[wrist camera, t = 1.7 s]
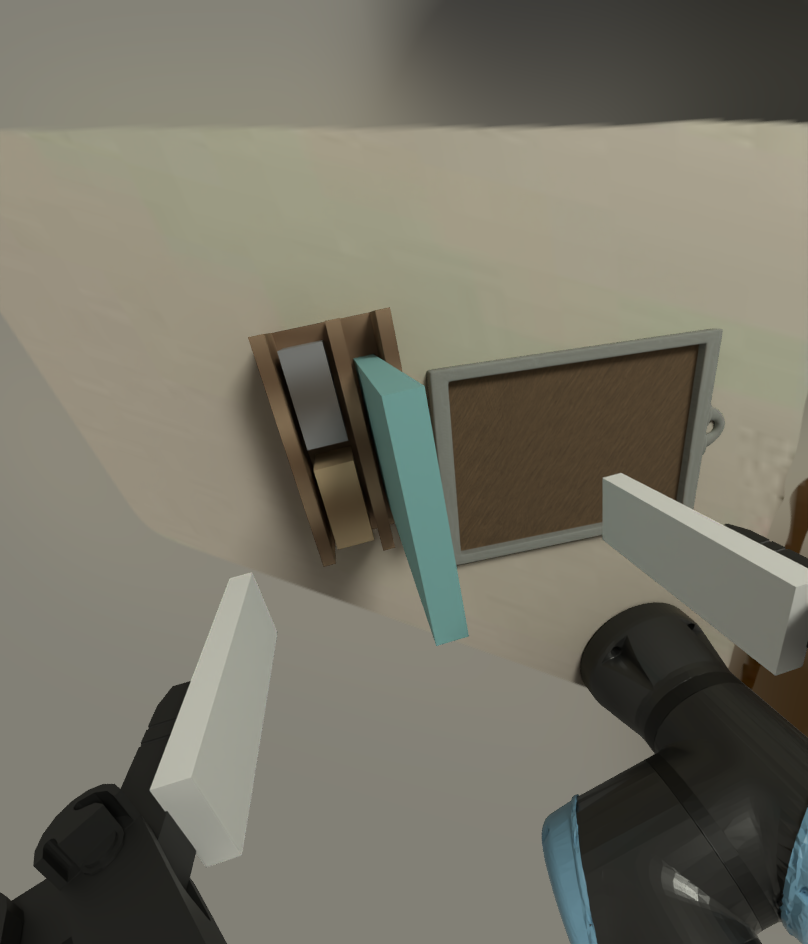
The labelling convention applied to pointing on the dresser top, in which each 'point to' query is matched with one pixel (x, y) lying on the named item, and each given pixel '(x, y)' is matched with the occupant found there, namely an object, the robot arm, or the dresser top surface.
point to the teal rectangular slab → (414, 489)
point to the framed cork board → (568, 436)
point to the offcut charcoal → (313, 394)
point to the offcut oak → (343, 497)
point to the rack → (341, 347)
